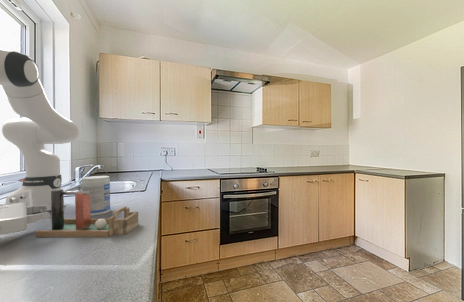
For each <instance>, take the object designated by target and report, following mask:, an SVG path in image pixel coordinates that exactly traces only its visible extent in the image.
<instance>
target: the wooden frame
mask: <svg viewBox="0 0 464 302" xmlns="http://www.w3.org/2000/svg"><path fill="white" fill-rule="evenodd" d="M121 213H123V218H124V219H115V218H116V216H118V215H119V214H121ZM108 218H109V236H108V237H113V236H114V235H115V236H117V235H120V236H121V235H122V236H123V235H127V234H128V233H130V232H131V231H132V230H134V229H135V228H136V227H137V226H138V225H139V211H130V207H127V206H126V205H124V206H122V207H120V208H118V209H117V210H114V211H113V212H112V215H111V216H110V217H108Z"/></svg>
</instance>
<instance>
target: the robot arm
mask: <svg viewBox="0 0 464 302" xmlns="http://www.w3.org/2000/svg"><path fill="white" fill-rule="evenodd" d="M39 71H40V70H39V67H38V64H37V62H35V60H33V59H32V57H30V56H29V55H28V54H24V53H22V52H19V51H12V50H7V49H3V48H0V86H1V89H2V91H3V94H4V95H5V97H6V99H7V101H8V103H9V104H10V107H11V108H12V110H13V111H14V112H15V113H16V114H17V115H19V116H20V117H21V118H19V117H18V118H11V119H7V120H6V121H5V122H4V123H3V124H2V127H1V132H2V136H3V137H4V138H5V139H6V140H7V141H8V142H10V143H11V144H13V145H15V146H16V147H17V149H19V151H20V152H21V154H22V155H23V158H24V163H25V173H26V174H25V177H24V178H20V179H19V182H21V183H22V184H21V186H20V187H18V188H17V190H14V191H13V192H12V193H10V194H9V195H7V197H6V198H5V203H2V204H0V236H1V235H8V234H13V233H19V232H22V231H25V230H28V224H29V225H30V224H34V223H37V222H39V221H42V220H47V219H50V218H51V217H50V215H51V214H50V211H51V191H52V190H59V189H62V180H63V178H62V174H61V159H60V157H59V156H58V155H57V154H55V153H54V152H51V151H48V150H47V149H46V147H45V145H61V144H62V145H63V144H68V143H69V144H70V143H74V142H75V141H76V140H77V139H78V138H79V135H80V130H79V127H78V125H77V124H76V123H75V122H74V121H72V120H70V119H69V118H66V117H64V116H63V115H61V114H60V113H59V112H58V111H56V110H55V108H54V107H53V106H52V105H51V103H50V100H49V99H48V98H47V97H48V96H47V94H46V93H45V89H44V87H43V85H42V82H41V80H40V72H39ZM65 206H66V203H65V202H64V207H65ZM34 213H35V214H34Z"/></svg>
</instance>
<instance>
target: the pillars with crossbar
mask: <svg viewBox="0 0 464 302" xmlns="http://www.w3.org/2000/svg"><path fill="white" fill-rule="evenodd" d="M64 195H65V196H69V195H70V196H71V195H72V196H75V198H74V199H75V200H74V201H75V202H74V205H75V206H74V208H75V219H76V230H84V229H86V228H88V227H90V226H91V219H92V218H91V217H92V216H90V191H82V190H64V189H62V188H61V189H59V190H52V191H51V210H50V211H51V214H50V215H51V217H50V218H51V220H50V221H51V229H52V230H57V229H61V228H63V227H64V219H65V211H64V210H65V209H64V207H65V206H64V203H65V201H64V200H65V198H64Z"/></svg>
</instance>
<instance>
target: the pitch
mask: <svg viewBox="0 0 464 302" xmlns="http://www.w3.org/2000/svg"><path fill="white" fill-rule="evenodd" d="M109 218H110V217H108V218H106V217H105V218H102V219H105V220H106V222H107V225H106V227H105V228H103V229H97V228H96V227H95V222H96V221H97V220H98V219H99V218H91V226H90V227H88V228H86V229H84V230H76V218H64V227H63V228H61V229H57V230H52V228H51V229H49V230H48V229H45V230H43V229H42V230H40V229H38V230H35V231H34V232H35V233H34V235H35V236H34V237H36V238H37V237H38V238H39V237H40V238H44V237H46V238H48V237H52V238H53V237H55V238H56V237H57V238H60V237H64V238H65V237H66V238H68V237H69V238H71V237H72V238H73V237H75V238H76V237H77V238H78V237H79V238H83V237H84V238H85V237H87V238H88V237H89V238H94V237H96V238H97V237H100V238H104V237H107V238H108V237H110V236H109ZM115 219H124V217H122V218H116V217H115Z"/></svg>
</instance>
